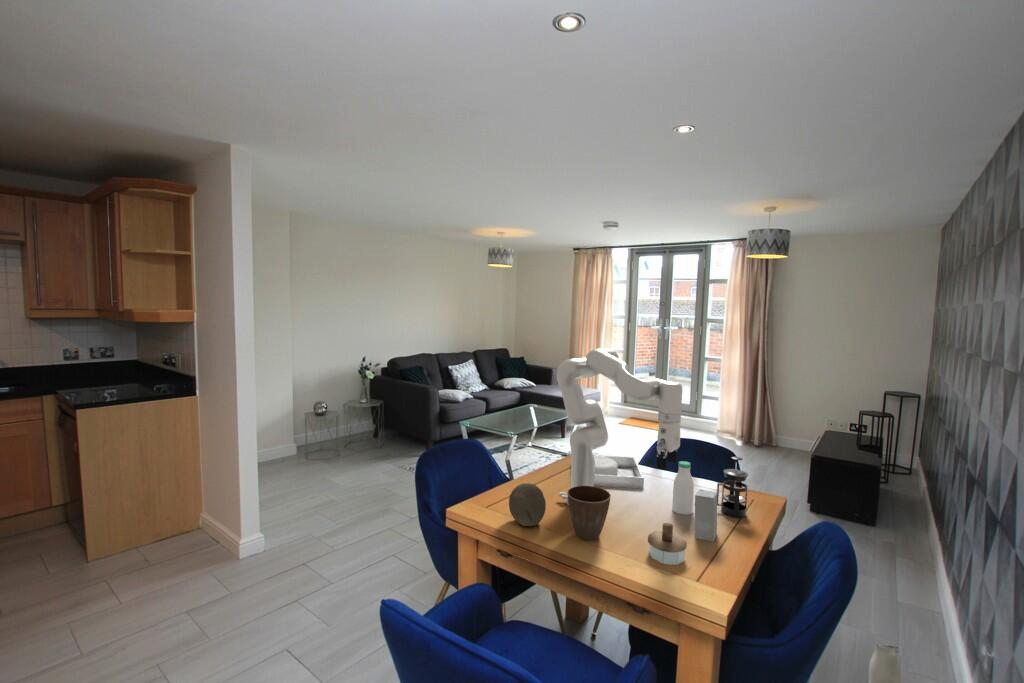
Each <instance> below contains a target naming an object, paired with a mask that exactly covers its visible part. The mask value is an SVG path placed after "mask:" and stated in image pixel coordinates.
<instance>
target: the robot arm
mask: <svg viewBox="0 0 1024 683" xmlns="http://www.w3.org/2000/svg"><path fill="white" fill-rule="evenodd" d="M628 371H629V366H628V363H627V362H625V361H624V360H622V359H620V357H619V355H618V353H617V352H616V351H615V350H614V349H613V348H609V347H605V348H602V347H601V348H594V349H592V350H590V351H588V353H587V354H586V356H585V357H573V358H568V359H565V360H563V361H562V362H561V363H560V364H559V366H558V368H557V370H556V381H557V383H558V387H559V389H560V392H561V395H562V399H563V404H564V409H565V413H566V415H567V419H568V421H569V423H571V424H572V425H575V426H579V425H585V424H586V425H585V426H583V427H580V428H577V429H575V430H574V431H572V432H571V434H570V436H569V446H570V452H571V453H570V454H571V456H570V457H571V463H570V464H571V468H570V469H571V470H570V472H571V473H570V489H571V488H573V487H577V486H594V487H595V485H594V478H595V459H594V456H593V455H594V454H593V450H596V449H600V448H602V447H604V446H606V444H607V443H608V440H609V434H608V428H607V425H606V422H605V417H604V414H603V411H602V407H601V406H600V404H599V403H598V402H597V401H596V400H594V399H585V396H584V393H583V388H582V387H581V385H580V384H579V383H578V382H577V380H579V379H587V378H592V377H595V376H598V375H601V376H604V377H605V378H607V379H609V380H610V381H612V382H614V384H615V387H616V388H617V389H618V390H619V391H621V393H623V394H624V395H626V396H628V397H630V398H631V399H634V400H635V401H638V402H646V401H653V400H654V401H655V400H658V410H657V411H658V412H657V414H658V415H657V421H658V422H659V423H658V429H657V431H658V432H657V443H656V444H657V445H656V468H657V469H660V470H664V471H665V470H666V469H667V466H668V465H667V462H669V463H674V464H677V461H678V450H679V448H680V446H681V419H682V405H683V404H682V403H683V385H682V384H681V383H680V382H677V381H669V380H668V381H667V380H664V379H660V378H657V377H654V378H645V379H640V378H638V377H636V376H634V375H632V374H630V373H629V372H628ZM559 498H562V500H563V499H564V500H566V505H568V506H569V502H568V493H567V492H563V491H559Z"/></svg>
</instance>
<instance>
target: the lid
mask: <svg viewBox="0 0 1024 683" xmlns="http://www.w3.org/2000/svg"><path fill="white" fill-rule="evenodd" d="M673 531H674V525H673V524H672V523H669V522H663V523H662V530H661V531H653V532H651V533H649V534H648V535H647V542H648V544H650V545H651V546H653V547H654V548H656V549H659V550H662V551H666V552H681V551H684V550H685V551H686V549H687V546H688V545H687V543H688V542H687V540H686V539H685V538H684V537H682V536H681V535H678V534H676V533H673Z"/></svg>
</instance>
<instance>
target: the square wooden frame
mask: <svg viewBox="0 0 1024 683" xmlns="http://www.w3.org/2000/svg"><path fill="white" fill-rule="evenodd" d="M593 456H603V457H607V458H610V459H612V460H614V461H615V462H616V463H617V466H618V467H621V468H623V467H624V468H632V469H633V471H634V474H635V476H629V475H619V476H617V475H615V476H614V475H597V474H595V478H594V486H596V487H598V486H599V487H615V488H630V489H632V488H633V489H644V484H645V477H644V474H643V473H642V470H641V468H640V467H639V464H638V462H637V460H636V458H635V457H634V456H619V455H616V456H615V455H603V454H602V455H601V454H593Z"/></svg>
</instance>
